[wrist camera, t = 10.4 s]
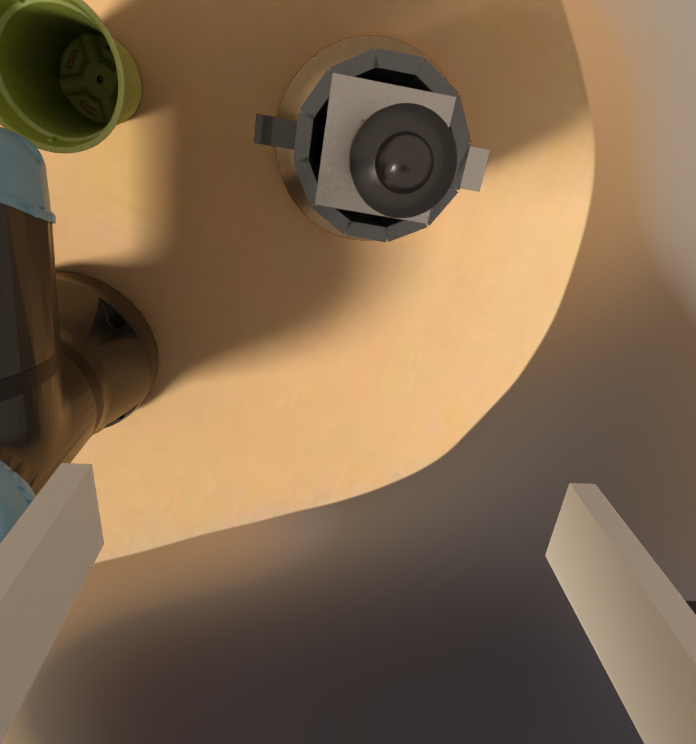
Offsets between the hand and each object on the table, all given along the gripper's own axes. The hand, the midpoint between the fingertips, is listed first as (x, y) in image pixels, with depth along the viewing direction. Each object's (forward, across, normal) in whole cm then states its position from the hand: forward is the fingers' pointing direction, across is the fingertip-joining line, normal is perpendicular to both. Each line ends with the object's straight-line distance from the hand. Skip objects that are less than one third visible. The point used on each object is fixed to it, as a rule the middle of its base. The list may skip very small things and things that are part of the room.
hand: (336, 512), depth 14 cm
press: (+34, +3, +9) cm, 35 cm away
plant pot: (+35, -18, +11) cm, 41 cm away
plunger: (+31, +3, +9) cm, 33 cm away
